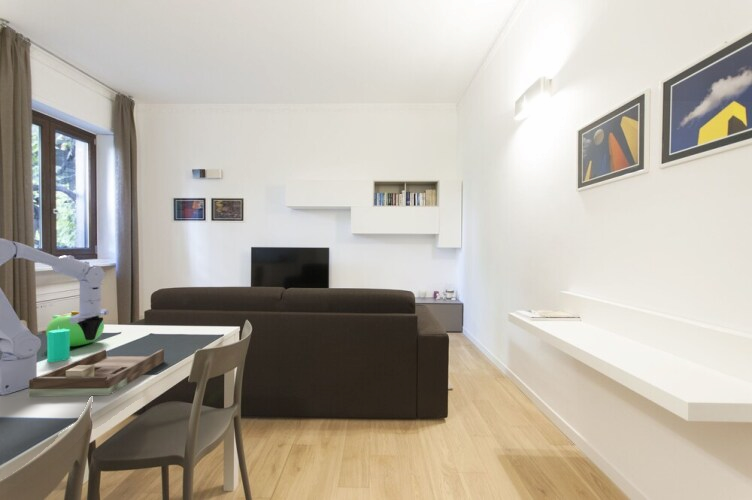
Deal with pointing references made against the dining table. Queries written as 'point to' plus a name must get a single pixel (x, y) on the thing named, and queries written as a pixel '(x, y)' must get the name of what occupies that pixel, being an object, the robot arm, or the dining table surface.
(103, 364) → the box
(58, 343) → the candle
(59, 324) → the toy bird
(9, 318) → the robot arm
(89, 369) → the beech block
